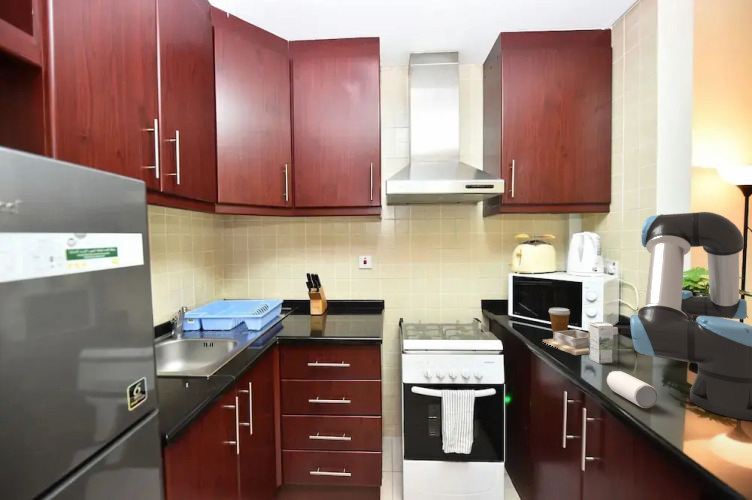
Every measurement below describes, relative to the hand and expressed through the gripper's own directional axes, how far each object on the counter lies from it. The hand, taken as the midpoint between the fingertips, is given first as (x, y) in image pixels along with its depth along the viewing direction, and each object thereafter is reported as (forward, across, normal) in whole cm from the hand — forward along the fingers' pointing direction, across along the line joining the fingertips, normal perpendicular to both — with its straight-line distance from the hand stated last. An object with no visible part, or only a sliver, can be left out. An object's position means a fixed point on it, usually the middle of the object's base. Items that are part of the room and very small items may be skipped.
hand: (619, 336), depth 129 cm
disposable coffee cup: (-6, +37, -9) cm, 39 cm away
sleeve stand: (+4, +17, -8) cm, 20 cm away
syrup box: (+9, 0, -9) cm, 13 cm away
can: (+30, -33, -5) cm, 45 cm away
